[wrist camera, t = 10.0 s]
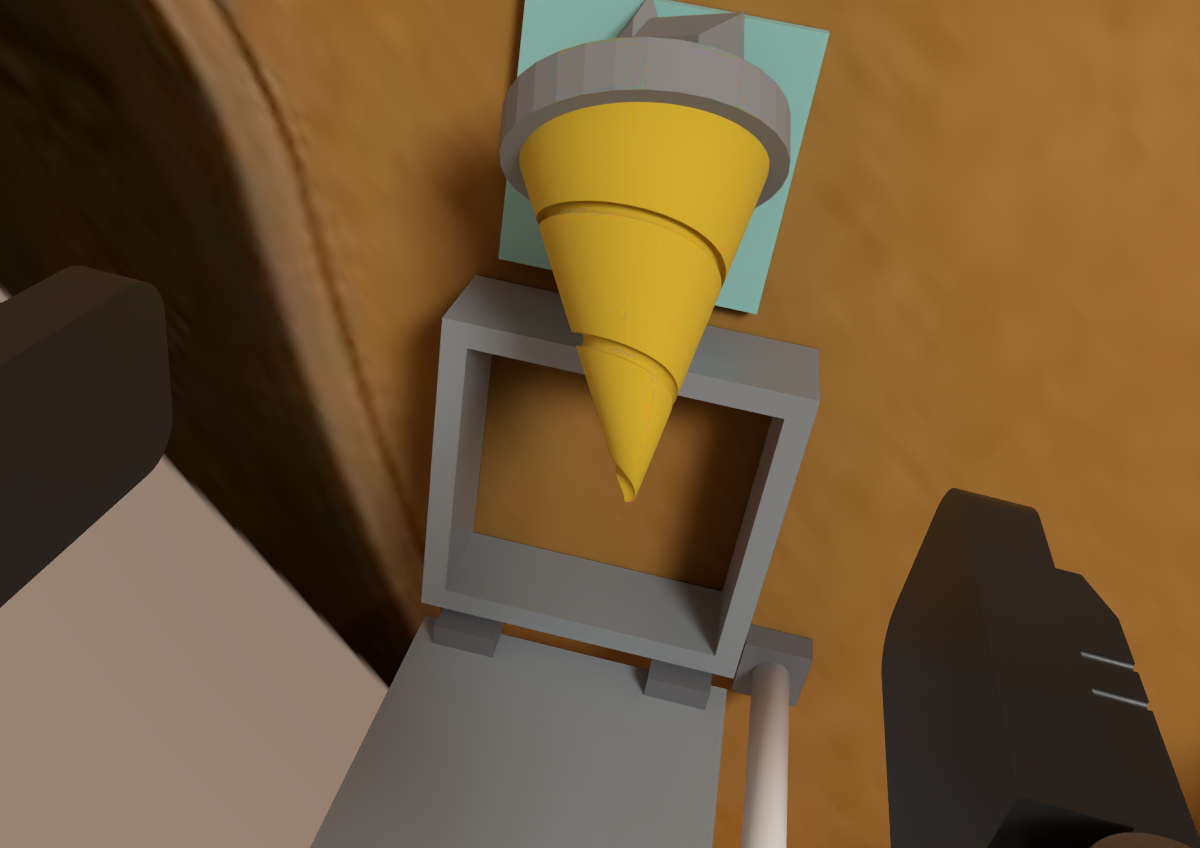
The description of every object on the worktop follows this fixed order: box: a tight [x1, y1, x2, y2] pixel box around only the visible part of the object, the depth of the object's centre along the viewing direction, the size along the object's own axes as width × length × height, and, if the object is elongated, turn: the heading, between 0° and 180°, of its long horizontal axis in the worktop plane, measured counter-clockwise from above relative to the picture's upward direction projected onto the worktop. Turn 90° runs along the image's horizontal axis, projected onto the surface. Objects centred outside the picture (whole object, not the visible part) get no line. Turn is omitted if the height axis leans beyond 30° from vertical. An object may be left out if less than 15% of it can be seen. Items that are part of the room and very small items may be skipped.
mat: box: [498, 0, 829, 314], centre depth 21 cm, size 6×6×1 cm
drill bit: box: [499, 0, 791, 502], centre depth 18 cm, size 5×5×10 cm
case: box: [310, 275, 820, 848], centre depth 20 cm, size 10×10×12 cm
